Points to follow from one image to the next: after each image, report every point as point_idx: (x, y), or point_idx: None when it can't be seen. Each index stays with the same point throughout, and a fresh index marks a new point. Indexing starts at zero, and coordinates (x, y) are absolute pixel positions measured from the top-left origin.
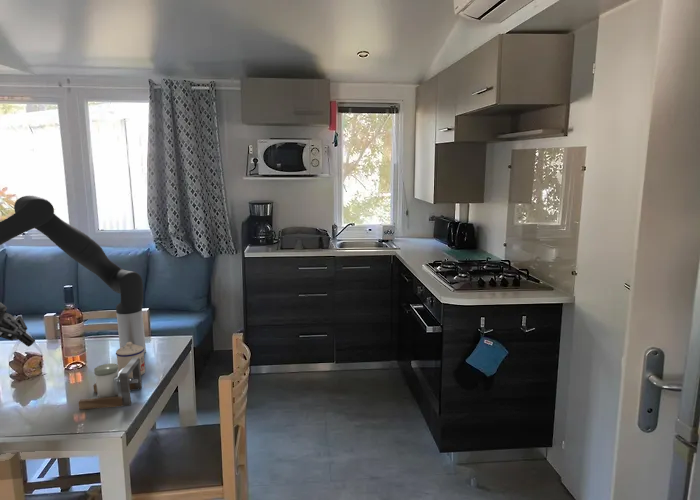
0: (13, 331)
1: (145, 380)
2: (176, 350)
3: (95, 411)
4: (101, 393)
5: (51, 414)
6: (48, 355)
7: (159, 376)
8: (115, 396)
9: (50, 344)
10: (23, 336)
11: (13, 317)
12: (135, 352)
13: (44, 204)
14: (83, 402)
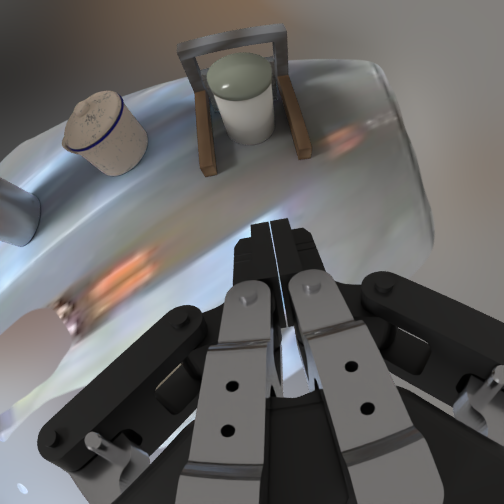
0: (405, 307)
1: (163, 106)
2: (39, 142)
3: (316, 122)
4: (273, 113)
5: (339, 210)
6: (30, 413)
7: (149, 93)
8: (276, 90)
9: (2, 425)
10: (309, 269)
11: (95, 502)
12: (114, 92)
13: None
14: (308, 139)
